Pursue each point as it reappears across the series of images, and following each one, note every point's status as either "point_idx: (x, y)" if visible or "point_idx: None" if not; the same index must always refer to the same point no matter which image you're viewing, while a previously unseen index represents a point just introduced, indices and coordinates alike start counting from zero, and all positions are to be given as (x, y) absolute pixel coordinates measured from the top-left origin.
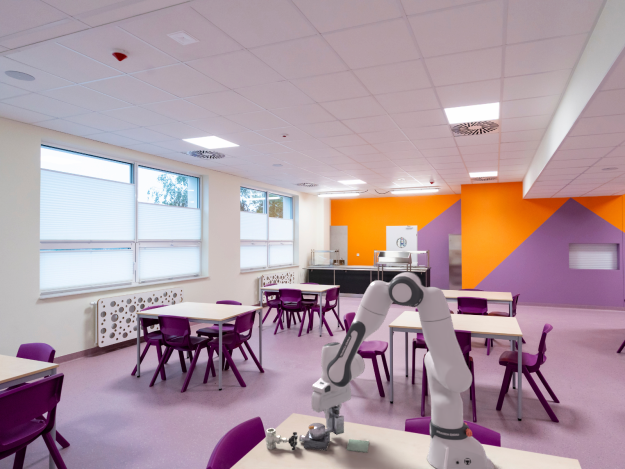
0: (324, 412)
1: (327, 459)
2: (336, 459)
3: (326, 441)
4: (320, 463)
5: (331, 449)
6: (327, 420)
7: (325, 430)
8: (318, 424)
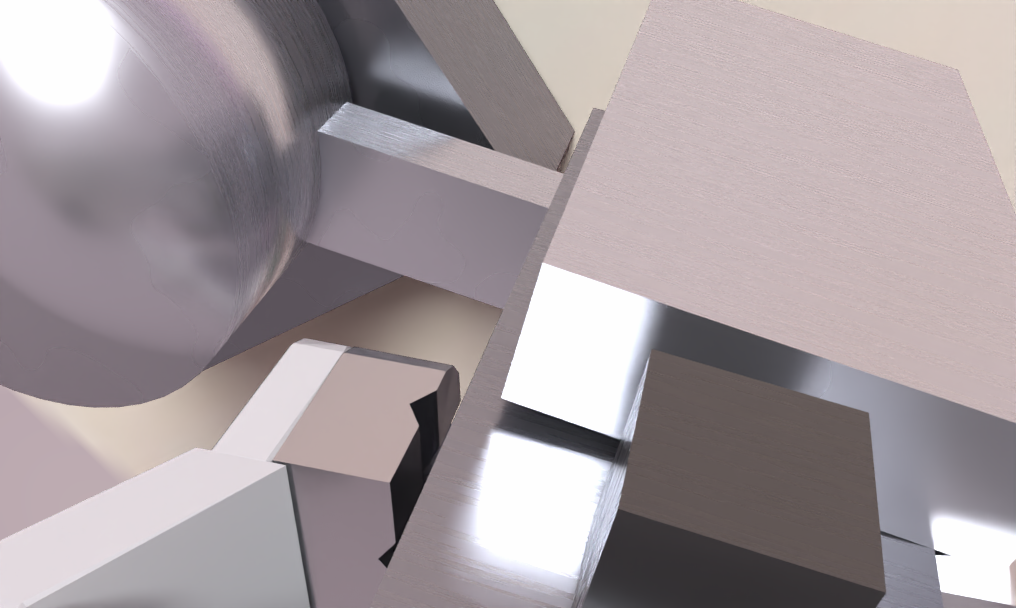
0: (97, 521)
1: (146, 415)
2: None
3: (219, 356)
4: (21, 394)
5: (358, 328)
6: (552, 201)
7: (362, 216)
8: (87, 149)
